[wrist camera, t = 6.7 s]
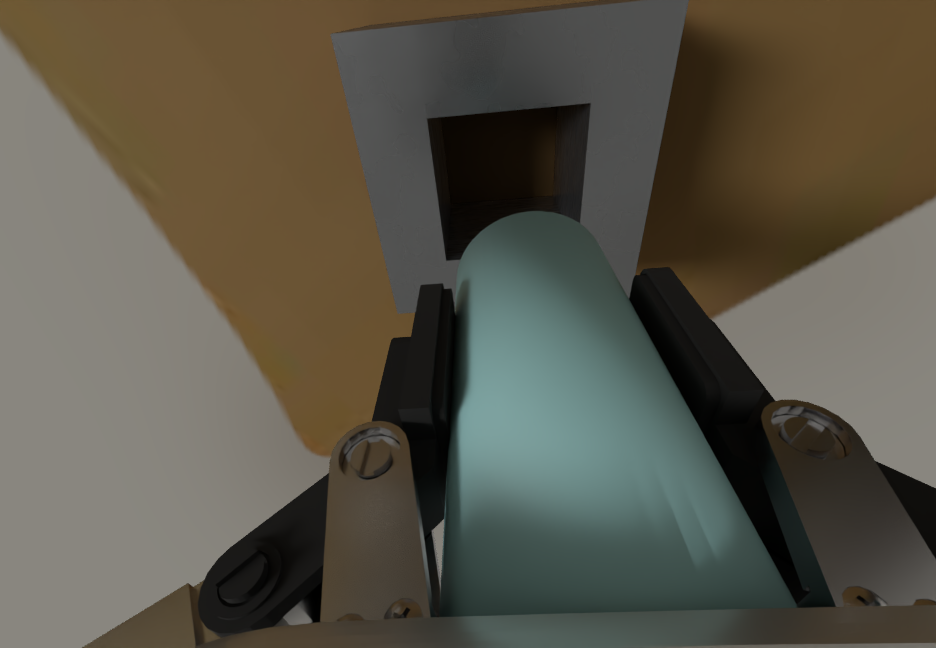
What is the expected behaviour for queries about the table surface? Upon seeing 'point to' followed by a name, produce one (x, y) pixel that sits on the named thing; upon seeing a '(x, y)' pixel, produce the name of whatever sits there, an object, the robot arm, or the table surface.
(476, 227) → the socket
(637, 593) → the plug
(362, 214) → the table surface
